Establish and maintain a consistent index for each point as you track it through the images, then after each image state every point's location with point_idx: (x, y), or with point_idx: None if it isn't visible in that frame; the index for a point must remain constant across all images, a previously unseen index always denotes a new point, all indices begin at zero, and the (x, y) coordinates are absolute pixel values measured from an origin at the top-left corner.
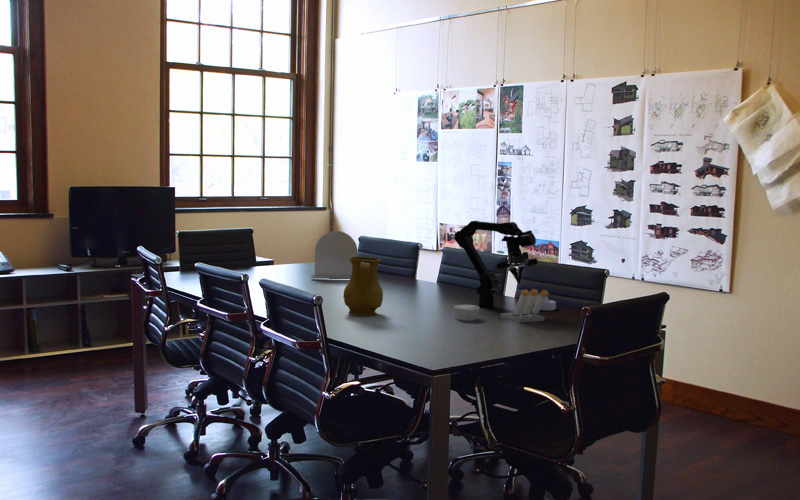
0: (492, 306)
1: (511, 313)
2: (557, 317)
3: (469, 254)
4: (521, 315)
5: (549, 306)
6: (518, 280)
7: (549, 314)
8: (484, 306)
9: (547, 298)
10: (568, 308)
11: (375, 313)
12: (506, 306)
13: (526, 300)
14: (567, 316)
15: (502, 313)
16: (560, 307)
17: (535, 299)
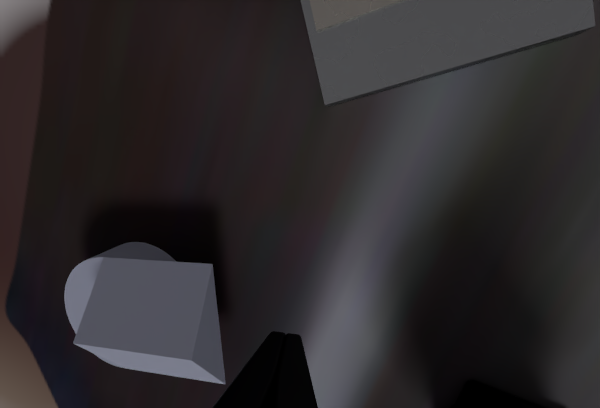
0: (467, 391)
1: (485, 20)
2: (147, 7)
3: None
4: None
5: (122, 250)
6: (288, 367)
7: (169, 115)
8: (531, 406)
9: (91, 300)
10: (40, 272)
11: None
12: (347, 398)
13: (222, 365)
14: (85, 43)
15: (579, 21)
16: None
17: (173, 301)
